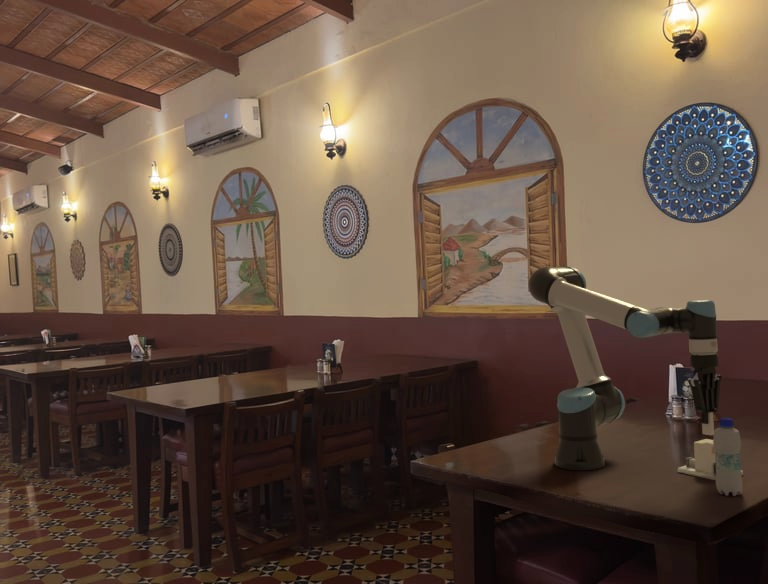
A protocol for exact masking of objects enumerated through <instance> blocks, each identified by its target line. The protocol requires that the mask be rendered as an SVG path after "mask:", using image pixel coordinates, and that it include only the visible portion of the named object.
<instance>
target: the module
mask: <svg viewBox="0 0 768 584" xmlns="http://www.w3.org/2000/svg"><path fill="white" fill-rule="evenodd" d="M693 453H694V458H695V470H700V471H704V472H709V473H713V472H714V468H713V463H716V458H715V448H714V443H713V439H709V438H705V439H700V440H698V441H697V440H696V441H694V442H693Z"/></svg>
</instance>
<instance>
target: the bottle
mask: <svg viewBox="0 0 768 584" xmlns="http://www.w3.org/2000/svg"><path fill="white" fill-rule="evenodd" d="M718 424H719V427H717V428H714V435H713V439H712V440H713V443H714V448H715V458H716V480H715V485H716V488H717V491H718V493H719V494H720V495H725V496H726V497H727V496H729V494H730V493H731V494H732V496H733V497H736V496H740V495H741V494H742V493H743V487H744V485H743V477H742V476H743V475H741V471H742V463H741V449H742V440H741V434H740V431H739V430H738V429H736V428H735V427H734V420H733V419H732V418H729V417H722V418H720V419H719V421H718Z"/></svg>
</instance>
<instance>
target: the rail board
mask: <svg viewBox="0 0 768 584" xmlns="http://www.w3.org/2000/svg"><path fill="white" fill-rule="evenodd" d="M713 468H714V472H713V473H709V472H704V471H700V470H695V457H694V456H693V457H692V456H689V457H685V465H683V466H679V467H677V472H678V473H681V474H686V475H690V476H694V477H699V478H703V479H708V480H712V481H716V463H713ZM741 475H742V476H744V470H741Z"/></svg>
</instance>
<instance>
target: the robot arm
mask: <svg viewBox="0 0 768 584" xmlns="http://www.w3.org/2000/svg"><path fill="white" fill-rule="evenodd" d="M527 287H528V291H529V293H530V295H531V296H532V298H533V299H534V300H536V301H538V302H540V303H543V304H546V305H548V306H550V309H551V311H553V312H555V313H556V314H557V317H558V320H559V323H560V325H561V329H562V332H563V333H562V334H563V336H564V339H565V341H566V344H567V345H566V346H567V348H568V352H569V355H570V358H571V361H572V364H573V368H574V371H575V374H576V377H577V380H578V383H577V385H576V387H574V388H567V389H564V390H562V391H561V392H559V393H558V394H557V402H556V407H557V417H558V418H557V422H558V434H559V435H558V437H559V441H558V445H557V448H556V449H557V450H556V454H555V456H554V465H555V466H556V467H558V468H560V469H564V470H569V471H570V470H571V471H592V470H598V469H601V468H604V467H605V465H606V463H605V462H606V461H605V460H606V459H605V456H604V454H603V452H602V449H601V446H600V442H599V439H598V427H599V426H602V425H605V424H610V423H612V422H614V421H616V420H617V419H619V418H620V417H621V416H622V414H623V413H624V411H625V408H626V401H625V397H624V395H623V392H622V391H621V390H620V389H618V388H617V387H616V386H614V385H613V384H614V383H613V381H612V378H610V376H607V375H606V374H605V372H604V369H603V366H602V363H601V360H600V356H599V353H598V350H597V347H596V344H595V341H594V338H593V335H592V332H591V329H590V326H589V322H588V320H587V319H588V318H587V316H588V317H591V318H594V319H596V320H600V321H602V322H605V323H607V324H611V325H614V326H616V327H619V328H622V329H624V330H628V332H629V333H630V334H631V335H632V336H634V337H635V338H644V339H645V338H646V339H647V338H651V337H655V336H659V335H660V336H661V335H665V334H676V333H677V334H683V333H685V334H687V333H688V349H689V351H688V352H689V353H691V354H690V355H689V363H690V367H691V368H693V377H692V378H689V379H688V381H687V382H688V384H689V387H690V390H691V395H692V399H693V403H694V409H695V411H696V412H698V413H700V418H701V419H700V420H701V428H702V430H701V431H702V435H706V436H714V430H715V425H714V422H715V421H714V420H715V417H714V413H717V412H718V409H719V401H720V390H721V389H720V388H721V381H722V379H723V377H722V374H718V373H717V369H716V368H717V367H719V363H720V361H719V355H718V353H717V352H719V351H718V350H719V349H718V347H719V346H718V335H717V333H718V332H717V313H716V306H715V305H716V304H715V302H714V301H713V300H710V299H699V300H697V299H695V300H689V301H687V302H686V306H685V307H656V308H655V307H653V308H650V309H646V308H643V307H640V306H637V305H635V304H632V303H629V302H625V301H622V300H619V299H617V298H613V297H611V296H608V295H605V294H602V293H599V292H595V291H593V290H589V289H587V281H586V278H585V276H584V274H583V273H582V272H581V271H580V270H579V269H577V268H575V267H573V266H567V265H566V266H565V265H562V266H549V267H548V266H547V267H546V266H545V267H541V268H539V269H536V270H535V271H534V272H533V273H531V275H530V277H529V280H528V286H527Z"/></svg>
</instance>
